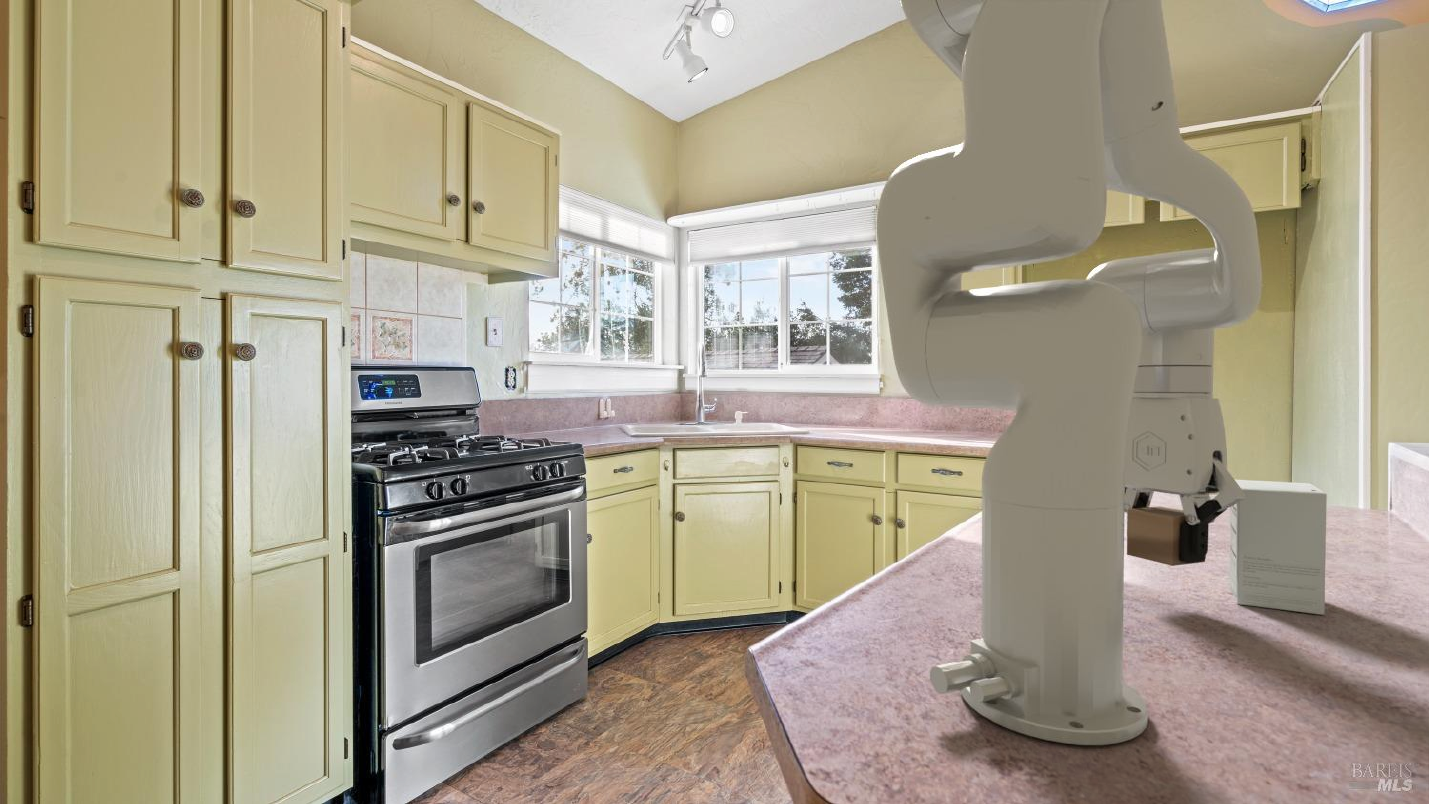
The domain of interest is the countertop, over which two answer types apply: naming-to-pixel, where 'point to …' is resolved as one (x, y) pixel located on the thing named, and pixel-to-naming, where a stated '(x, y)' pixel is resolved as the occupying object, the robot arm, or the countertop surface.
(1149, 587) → the countertop surface
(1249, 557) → the supplement box
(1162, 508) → the walnut cube
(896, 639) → the countertop surface
